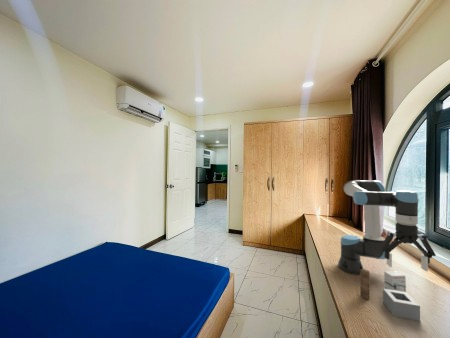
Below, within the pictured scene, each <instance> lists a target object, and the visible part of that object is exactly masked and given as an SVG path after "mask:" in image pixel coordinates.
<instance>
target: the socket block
mask: <svg viewBox="0 0 450 338" xmlns="http://www.w3.org/2000/svg"><path fill="white" fill-rule="evenodd" d="M382 302H383V304H384V305H385V306H386V307H387V309H388V310H389V311H390V313H391V314H392V315H393V316H394V317H396V318H402V319H407V320H413V321H417V322H421V306H420V304H419V303H418V302H417V301H416V300H415V299H414V298H413V297H412V296H411V295H410V294H409V293H407V291H406V292H402V291H396V290H390V289H385V287H384V288H383V289H382Z"/></svg>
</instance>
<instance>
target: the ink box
mask: <svg viewBox="0 0 450 338" xmlns="http://www.w3.org/2000/svg"><path fill="white" fill-rule="evenodd" d="M383 274H384V275H383V277H384V278H383V279H384V289H390V290H396V291H402V292H407V286H406V285H407V284H406V282H407V280H406V275H405V274H403V273H401V272H400V271H399V270H398V271H397V270H386V271H384V272H383Z"/></svg>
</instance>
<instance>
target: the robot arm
mask: <svg viewBox="0 0 450 338" xmlns="http://www.w3.org/2000/svg"><path fill="white" fill-rule="evenodd" d="M342 190H343V192H344V193H345V195H348V196H350V197H352V199H353V202H354V204H355V205H361V206H363V208H364V209H363V211H364V212H363V213H364V215H363V216H364V229H365V230H364V235H363V236H362V238H361V237H360V236H358V235H353V234H345V235H343V236H341V238H340V257H339V260H338V262H337V263H338V265H337V266H338V268H339V269H340V270H342V271H344V272H345V273H348V274H354V275H360V269H364V266H363V264H362V260H361V257H362V258H363V257H365V258H369V259H370V258H371V259H376V260H386V265H387V266H388V267H390V268H393V261H392V260H393V254H392V253H391V252H393V250H394V249H396V248H397V247H398V246H399V245H401V244H410V245H411V244H413V245H414V246H415V247H416V248H417V249H418V250H419V251H420V253H422V254H420V255H421V256H420V263H421V265H420V267H421V269H422V270H423V271H425V272H428V271H429V265H430V263H431V259H432V258H433V257H436V256H437V254H436V253H435V251H434V250H433V248H432V246H431V244H430V243H429V242H428V237H427V235H426V234H424V233H423V234H422V233H419V234H418V232H419V225H418V224H419V221H418V220H419V218H418V217H419V214H418V213H419V208H418V207H419V198H418V192H416V191H414V190H413V191H412V190H396V191H386V188H385V186H384V184H383V182H381V181H380V180H376V179H375V180H373V179H372V180H371V179H368V180H367V179H366V180H365V179H364V180H360V179H356V180H355V179H354V180H349V181H347V182H346V183H344V184H343V188H342ZM380 207H393V208H395V218H394V219H395V220H394V221H395V232H392V231H387V234H386V237H385V238H383V237H382V229H381V213H380V211H381V210H380ZM418 239H419V241H420V242H421V243H422V245H423V246H424V247H423V246H422V245H421V244H420V242H419V241H417V240H418Z"/></svg>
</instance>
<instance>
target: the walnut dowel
mask: <svg viewBox="0 0 450 338" xmlns="http://www.w3.org/2000/svg"><path fill="white" fill-rule="evenodd" d="M359 275H360V277H359V278H360V280H359V281H360V283H359V284H360V285H359V286H360V289H359V290H360V297H361V299H363V300H365V301H369V300H370V297H371V296H370V295H371V294H370V270H367V269H365V268H363V269H360V274H359Z"/></svg>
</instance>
